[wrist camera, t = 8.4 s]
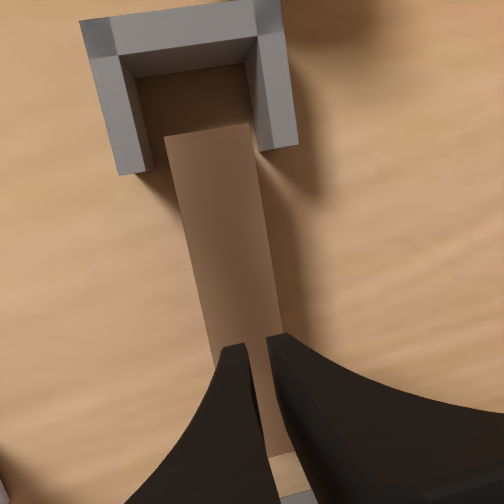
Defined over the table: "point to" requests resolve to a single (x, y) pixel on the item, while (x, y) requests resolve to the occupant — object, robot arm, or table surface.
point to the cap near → (190, 67)
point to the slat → (231, 254)
